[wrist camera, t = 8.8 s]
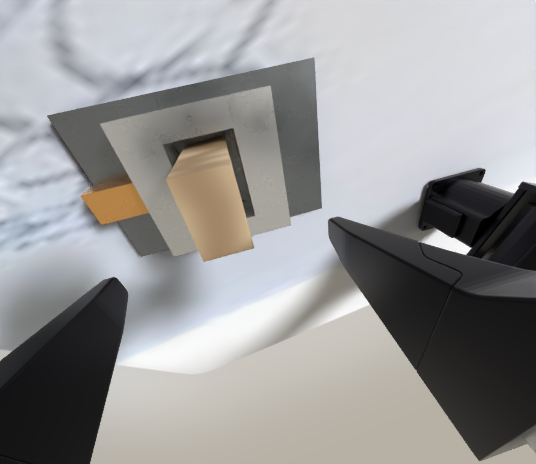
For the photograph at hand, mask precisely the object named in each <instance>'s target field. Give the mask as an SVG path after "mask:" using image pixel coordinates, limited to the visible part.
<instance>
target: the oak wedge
mask: <svg viewBox="0 0 536 464" xmlns="http://www.w3.org/2000/svg"><path fill="white" fill-rule="evenodd" d="M166 182H167V184H168V186H169V188H170V190H171V192H172V195H173V197H174V199H175V201H176V203H177V205H178V208H179V210H180V212H181V214H182V216H183V218H184V220H185V223H186V225H187V227H188V229H189V231H190V233H191V235H192V238H193V240H194V242H195V244H196V246H197V248H198V251H199V253H200V255H201V257H202V259H203V261H204V262H205V261H209V260H213V259H216V258H220V257H224V256H227V255H231V254H234V253H238V252H242V251H245V250H249V249H253V248H254V246H253V242H252V238H251V234H250V230H249V226H248V222H247V218H246V214H245V210H244V206H243V202H242V199H241V195H240V191H239V187H238V184H237V180H236V177H235V173H234V169H233V166H232V162H231V158H230V155H229V151H228V147H227V144H226V140H225V136H223V137H219V138H214V139H210V140H206V141H202V142H197V143H193V144H189V145H185V147H184V149H183V150H182V152H181V154H180V156H179V157H178V159H177V161H176V163H175V165H174V166H173V168H172V170H171V172H170V173H169V175H168V177H167V179H166Z"/></svg>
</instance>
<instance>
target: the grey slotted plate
mask: <svg viewBox="0 0 536 464" xmlns="http://www.w3.org/2000/svg"><path fill="white" fill-rule="evenodd" d="M47 117H48V118H49V120H50V121H51V123H52V124H53V126H54V127H55V129H56V130H57V132H58V133H59V135H60V136H61V138H62V139H63V141H64V142H65V144H66V145H67V147H68V148H69V150H70V151H71V152H72V154H73V155H74V157H75V158H76V160H77V161H78V163H79V164H80V166H81V167H82V169H83V170H84V172H85V173H86V175H87V176H88V178H89V179H90V181H91V182H92V184H93V185H94V186H93V187H91V188H90V189H89V190H87V191H86V192H85V193H83V194H82V195H81V197H82V199H83V200H84V202H85V203H86V204H87V206H88V207H89V208H90V210H91V211H92V213H93V214H94V215H95V217H96V218H97V219H98V221H99V222H100V223H101V225H103V224H107V223H111V222H115V221H118V223H119V224H120V226H121V227H122V229H123V230H124V232H125V233H126V234H127V236H128V237H129V239H130V240H131V242H132V243H133V245H134V246H135V248H136V249H137V251H138V252H139V254H140V255H141V257H142V256H145V255H149V254H153V253H157V252H160V251H164V250H168V249H170V250H171V252H172V254H173V256H174V257H175V256H179V255H183V254H187V253H190V252H194V251H198V248H197V246H196V244H195V242H194V240H193V238H192V235H191V233H190V231H189V229H188V227H187V225H186V223H185V220H184V218H183V216H182V214H181V212H180V210H179V208H178V205H177V203H176V201H175V199H174V197H173V195H172V192H171V190H170V188H169V186H168V184H167V182H166V179H167V177H168V175H169V173H170V172H171V170H172V168H173V166H174V165H175V163H176V161H177V159H178V157H179V156H180V154H181V152H182V150H183V149H184V147H185V145H189V144H193V143H197V142H202V141H206V140H210V139H214V138H219V137H223V136H225V140H226V144H227V147H228V151H229V155H230V158H231V162H232V166H233V169H234V173H235V177H236V180H237V184H238V187H239V191H240V195H241V199H242V202H243V206H244V210H245V214H246V218H247V222H248V226H249V230H250V234H251V236H253V235H257V234H260V233H264V232H268V231H271V230H275V229H279V228H282V227H286V226H290V225H291V221H290V217H291V216H294V215H298V214H302V213H306V212H309V211H313V210H317V209H320V208H322V202H321V182H320V161H319V141H318V121H317V101H316V81H315V61H314V58H310V59H306V60H301V61H296V62H292V63H287V64H283V65H278V66H273V67H269V68H264V69H260V70H255V71H250V72H246V73H241V74H237V75H232V76H227V77H223V78H218V79H214V80H209V81H204V82H200V83H195V84H191V85H186V86H181V87H177V88H172V89H168V90H163V91H158V92H154V93H149V94H145V95H140V96H135V97H131V98H126V99H122V100H117V101H112V102H108V103H103V104H99V105H94V106H89V107H85V108H80V109H76V110H71V111H66V112H62V113H57V114H53V115H48V116H47Z"/></svg>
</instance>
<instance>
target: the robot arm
mask: <svg viewBox="0 0 536 464" xmlns="http://www.w3.org/2000/svg"><path fill="white" fill-rule="evenodd" d="M484 174H485V169H483V168H477V169H474V170H470V171H466V172H462V173H459V174H455V175H451V176H448V177H444V178H440V179H436V180H433V181H432V182H430V184H429V186H428V191H427V195H426V199H425V203H424V207H423V211H422V215H421V219H420V223H419V229H420V230H422V231H424V230H428V229H431V228H436V229H438V230H439V231H441V232H443V233H444V234H446V235H447V236H449V237H451V238H455V239H457V240H459V241H460V242H462V243H464V244H465V245H467V246H469V247H470V248H471V247H472V248H471V249H470V251H469V252H468V253H467V255H464V254H460V253H456V252H452V251H448V250H445V249H441V248H438V247H435V246H431V245H428V244H425V243H422V242H418V241H415V240H412V239H409V238H405V237H402V236H399V235H396V234H392V233H389V232H386V231H383V230H380V229H376V228H373V227H370V226H367V225H364V224H360V223H357V222H354V221H351V220H347V219H344V218H341V217H334V218H331V219H329V221H328V233H329V239H330V241H331V243H332V245H333V247H334V249H335V250H336V252H337V254H338V256H339V258H340V260H341V262H342V264H343V265H344V267H345V269H346V270H347V272H348V273H349V275H350V276H351V278H352V279H353V280H354V282H355V283H356V285H357V286H358V288H359V289H360V291H361V292H362V293H363V295H364V296H365V298H366V299H367V301H368V302H369V303H370V305H371V306H372V308H373V309H374V311H375V312H376V314H377V315H378V316H379V318H380V319H381V321H382V322H383V323H384V325H385V327H386V328H387V329H388V331H389V332H390V334H391V335H392V337H393V338H394V339H395V341H396V342H397V344H398V345H399V347H400V348H401V350H402V351H403V352H404V354H405V355H406V357H407V358H408V360H409V361H410V363H411V364H412V365H413V367H414V368H415V370H417V373H418V374H419V376H420V377H421V379H422V380H423V381H424V383H425V384H426V386H427V387H428V389H429V390H430V392H431V393H432V394H433V396H434V397H435V399H436V400H437V402H438V403H439V404H440V406H441V407H442V409H443V410H444V412H445V413H446V415H447V416H448V418H449V419H450V420H451V422H452V423H453V425H454V426H455V428H456V429H457V431H458V432H459V433H460V435H461V436H462V437H463V439H464V441H465V442H466V443H467V445H468V446H469V448H470V449H471V451H472V452H473V453H474V455H475V456H476V457H477V459H478V460H479V461H481V460H485V459H487V458H490V457H493V456H495V455H498V454H501V453H503V452H506V451H509V450H512V449H515V448H517V447H520V446H523V445H525V444H528V445H529V446H530V447H531V448H532V449H533V450H534V452H535V453H536V184H534V183H528V182H522V183H521V184H520V185H519V187H518V188H519V189H518V190H517V191H516V192H515V194H514V193H511V192H508V191H505V190H502V189H499V188H496V187H493V186H490V185H487V184H484V183H481V182H482V179H483V177H484ZM127 302H128V292H127V290H126V289H125V287H124V286H123V285H122V284H121V282H120V281H119V280H118V279H117V278H115V277H112V278H108V279H105V280H103V281H101V282H100V283H99V284H97V285H96V286H95V287H94V288H92V289H91V290H90V291H89V292H87V293H86V294H85V295H83V296H82V297H81V298H80V299H78V300H77V301H76V302H75V303H73V304H72V305H71V306H69V307H68V308H67V309H66V310H64V311H63V312H62V313H61V314H59V315H58V316H57V317H55V318H54V319H53V320H52V321H50V322H49V323H48V324H47V325H45V326H44V327H43V328H41V329H40V330H39V331H38V332H36V333H35V334H34V335H33V336H31V337H30V338H29V339H27V340H26V341H25V342H24V343H22V344H21V345H20V346H19V347H17V348H16V349H15V350H13V351H12V352H11V353H10V354H8V355H7V356H6V357H5V358H3V359H2V360H1V361H0V464H90V461H91V457H92V453H93V449H94V445H95V441H96V437H97V433H98V429H99V426H100V422H101V418H102V414H103V410H104V406H105V402H106V398H107V394H108V390H109V386H110V382H111V378H112V374H113V370H114V366H115V362H116V358H117V355H118V351H119V347H120V343H121V339H122V334H123V330H124V324H125V316H126V309H127Z"/></svg>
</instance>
